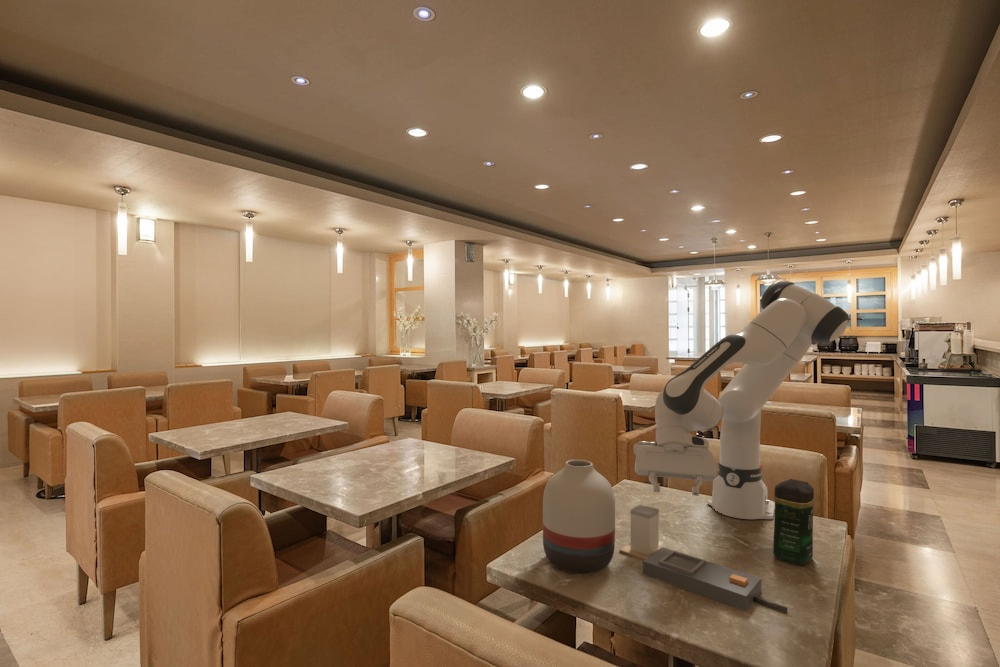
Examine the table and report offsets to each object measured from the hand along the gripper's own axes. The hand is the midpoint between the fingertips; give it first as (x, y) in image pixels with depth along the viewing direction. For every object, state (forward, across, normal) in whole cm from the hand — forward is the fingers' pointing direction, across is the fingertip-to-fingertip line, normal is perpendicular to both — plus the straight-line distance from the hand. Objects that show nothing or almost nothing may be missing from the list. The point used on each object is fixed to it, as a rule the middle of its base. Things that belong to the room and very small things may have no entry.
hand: (676, 492), depth 128 cm
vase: (+20, -23, -1) cm, 31 cm away
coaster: (+14, -8, +6) cm, 17 cm away
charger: (+13, -8, +5) cm, 16 cm away
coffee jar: (+10, +28, +9) cm, 31 cm away
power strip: (+23, +6, -6) cm, 24 cm away
